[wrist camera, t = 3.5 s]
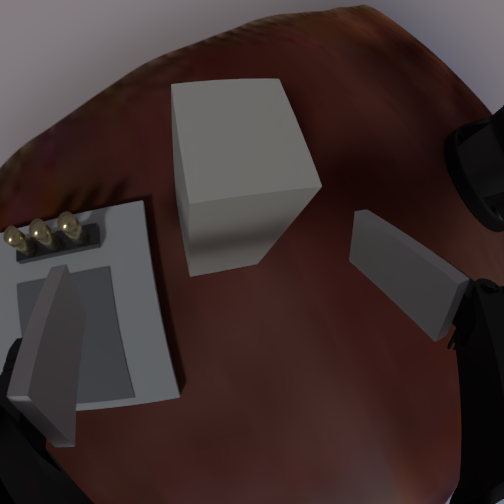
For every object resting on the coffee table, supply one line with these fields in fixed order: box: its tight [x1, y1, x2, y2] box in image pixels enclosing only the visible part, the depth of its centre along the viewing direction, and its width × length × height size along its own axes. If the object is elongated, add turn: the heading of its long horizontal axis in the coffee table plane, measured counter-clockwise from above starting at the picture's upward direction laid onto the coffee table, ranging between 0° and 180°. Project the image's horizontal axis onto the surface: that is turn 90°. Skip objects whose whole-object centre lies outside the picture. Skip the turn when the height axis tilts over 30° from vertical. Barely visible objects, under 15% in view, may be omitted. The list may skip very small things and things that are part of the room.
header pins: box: [3, 211, 101, 264], centre depth 17 cm, size 7×2×4 cm, turn 104°
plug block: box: [171, 79, 322, 277], centre depth 17 cm, size 5×6×12 cm
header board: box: [0, 200, 180, 411], centre depth 18 cm, size 14×14×1 cm
